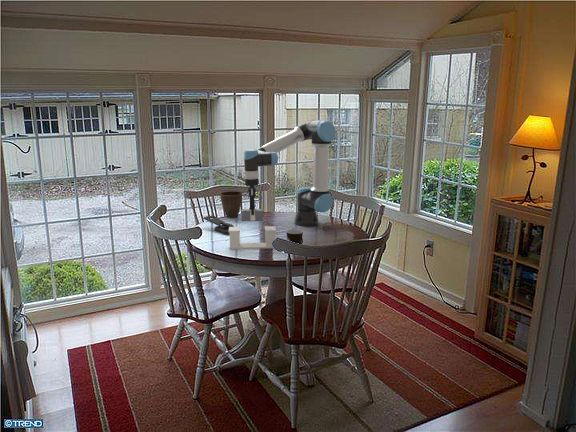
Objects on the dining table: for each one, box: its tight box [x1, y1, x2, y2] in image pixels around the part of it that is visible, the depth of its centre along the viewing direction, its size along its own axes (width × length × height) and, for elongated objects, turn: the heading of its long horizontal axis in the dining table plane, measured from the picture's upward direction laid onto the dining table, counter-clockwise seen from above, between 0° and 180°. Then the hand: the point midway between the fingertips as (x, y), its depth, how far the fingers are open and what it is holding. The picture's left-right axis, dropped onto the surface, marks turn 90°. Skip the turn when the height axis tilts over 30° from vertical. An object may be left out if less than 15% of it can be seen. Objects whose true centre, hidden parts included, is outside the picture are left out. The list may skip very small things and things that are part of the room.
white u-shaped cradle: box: [229, 225, 277, 250], centre depth 263 cm, size 25×8×10 cm, turn 94°
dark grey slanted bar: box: [202, 214, 235, 236], centre depth 295 cm, size 9×7×25 cm
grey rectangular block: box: [240, 208, 264, 222], centre depth 275 cm, size 12×4×6 cm, turn 93°
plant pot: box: [219, 190, 244, 219], centre depth 326 cm, size 15×15×16 cm
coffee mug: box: [286, 228, 304, 245], centre depth 256 cm, size 12×9×10 cm
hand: (252, 219), depth 275 cm, fingers closed on grey rectangular block, 4 cm apart
